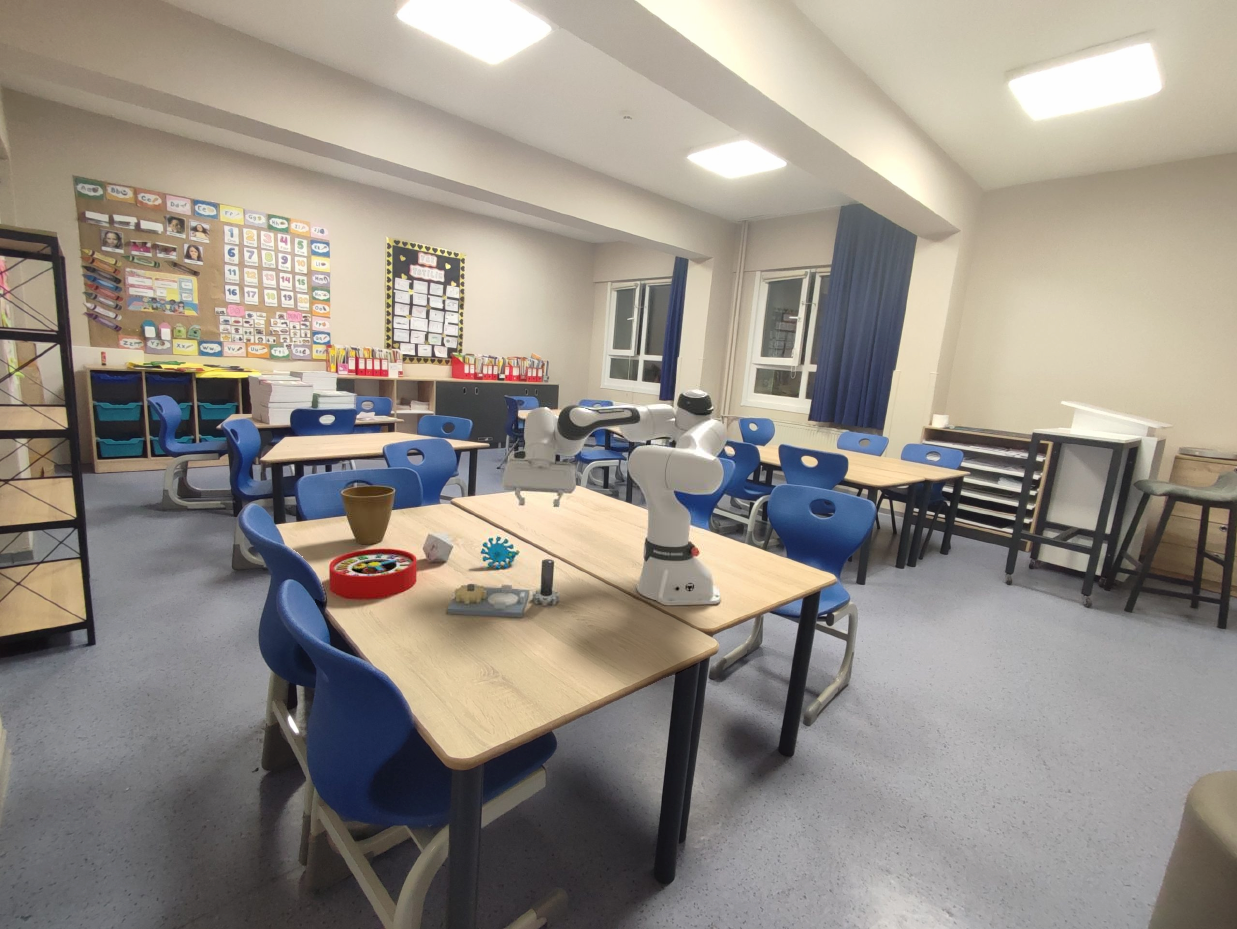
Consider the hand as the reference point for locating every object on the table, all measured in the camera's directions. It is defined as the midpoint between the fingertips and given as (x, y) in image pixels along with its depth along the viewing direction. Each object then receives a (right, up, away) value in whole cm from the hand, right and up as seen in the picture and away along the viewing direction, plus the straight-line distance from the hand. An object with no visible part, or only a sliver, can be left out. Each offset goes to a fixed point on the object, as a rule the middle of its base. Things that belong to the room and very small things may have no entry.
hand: (539, 505), depth 144 cm
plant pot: (-56, -13, +20) cm, 61 cm away
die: (-31, -17, +9) cm, 36 cm away
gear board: (-9, -22, -16) cm, 29 cm away
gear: (+4, -23, -12) cm, 26 cm away
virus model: (-13, -18, +9) cm, 24 cm away
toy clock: (-40, -19, -10) cm, 46 cm away
